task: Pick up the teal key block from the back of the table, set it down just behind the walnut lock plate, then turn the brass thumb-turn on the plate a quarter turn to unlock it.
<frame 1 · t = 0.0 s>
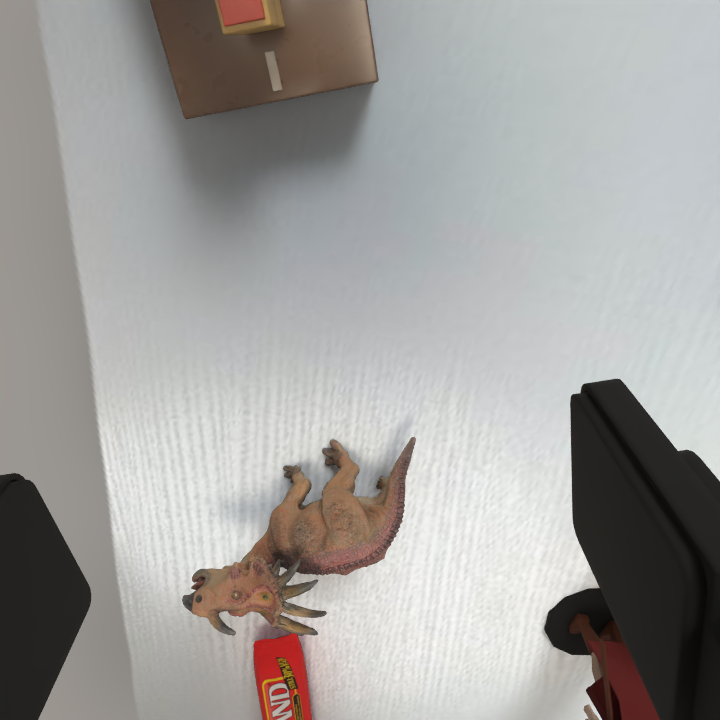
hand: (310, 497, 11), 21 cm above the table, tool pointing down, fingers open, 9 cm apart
candy bar: (288, 691, 47), on the table
figurine: (592, 616, 43), on the table
dinosaur figurine: (329, 485, 38), on the table
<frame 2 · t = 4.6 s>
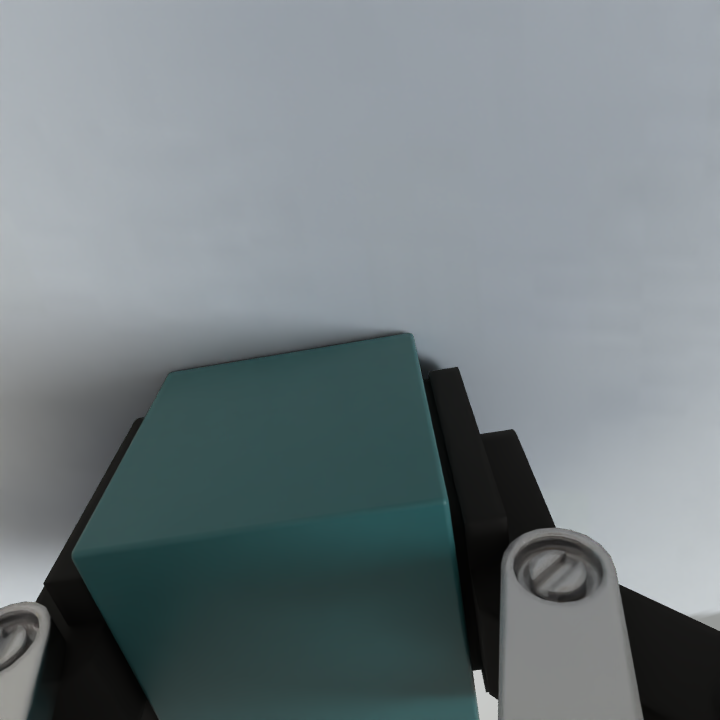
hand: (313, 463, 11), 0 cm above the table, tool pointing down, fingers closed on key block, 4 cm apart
key block: (314, 451, 12), on the table, touching gripper
when the fingers open (0 cm above the table, at t = 11.6 s): key block stays where it is, on the table.
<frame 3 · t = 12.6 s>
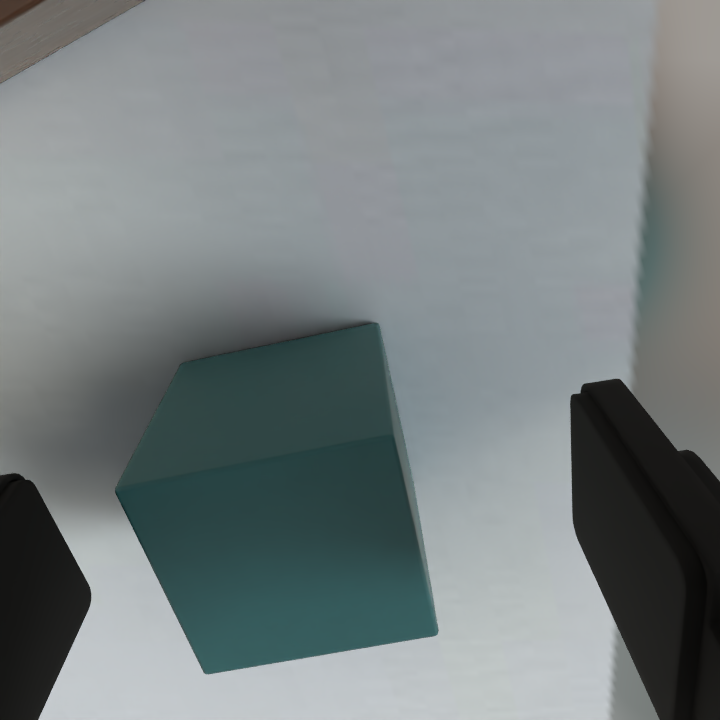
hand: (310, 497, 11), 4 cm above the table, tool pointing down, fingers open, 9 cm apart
key block: (303, 426, 14), on the table
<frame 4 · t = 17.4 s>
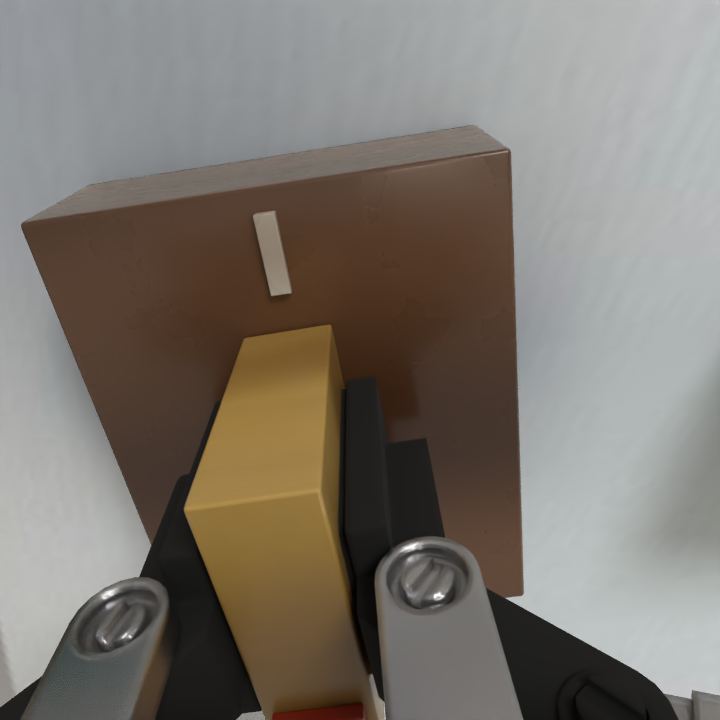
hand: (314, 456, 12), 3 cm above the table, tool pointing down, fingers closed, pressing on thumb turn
lock plate: (321, 369, 15), on the table
thumb turn: (307, 530, 10), point 5 cm above the table, hinge at 1.3°, touching gripper
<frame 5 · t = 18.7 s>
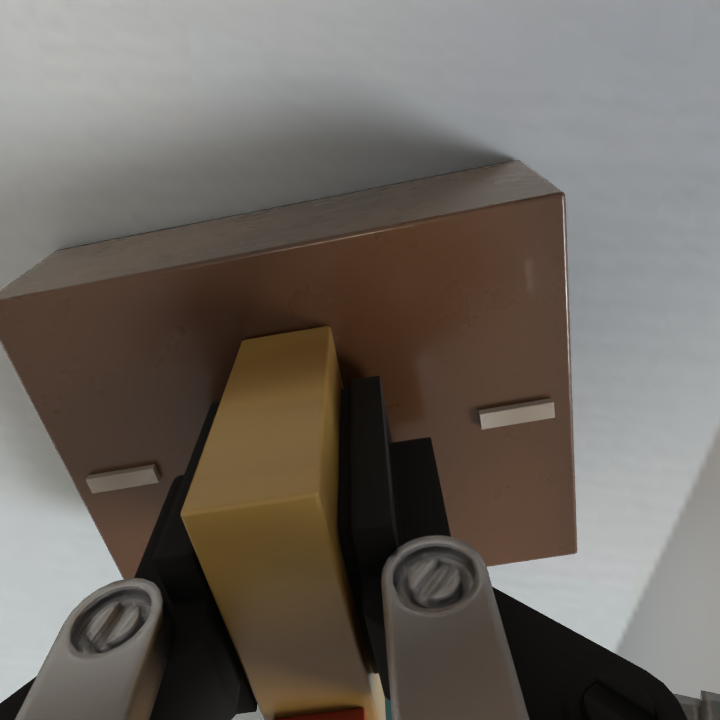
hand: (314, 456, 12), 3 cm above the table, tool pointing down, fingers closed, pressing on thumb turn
lock plate: (321, 370, 15), on the table
thumb turn: (307, 533, 10), point 5 cm above the table, hinge at 89.2°, touching gripper
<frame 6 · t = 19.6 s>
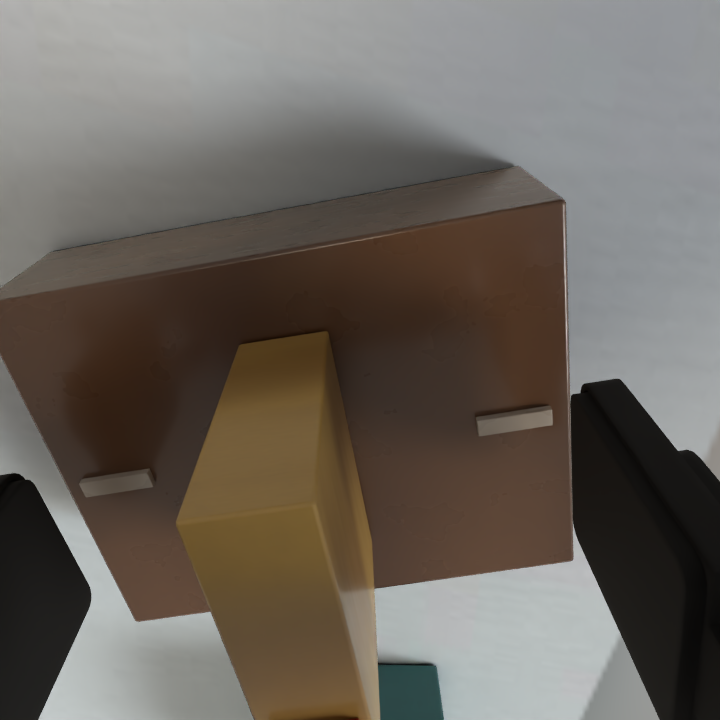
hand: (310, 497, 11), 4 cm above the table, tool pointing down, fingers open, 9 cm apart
lock plate: (318, 375, 15), on the table
key block: (364, 706, 20), on the table
thumb turn: (303, 540, 10), point 5 cm above the table, hinge at 89.3°
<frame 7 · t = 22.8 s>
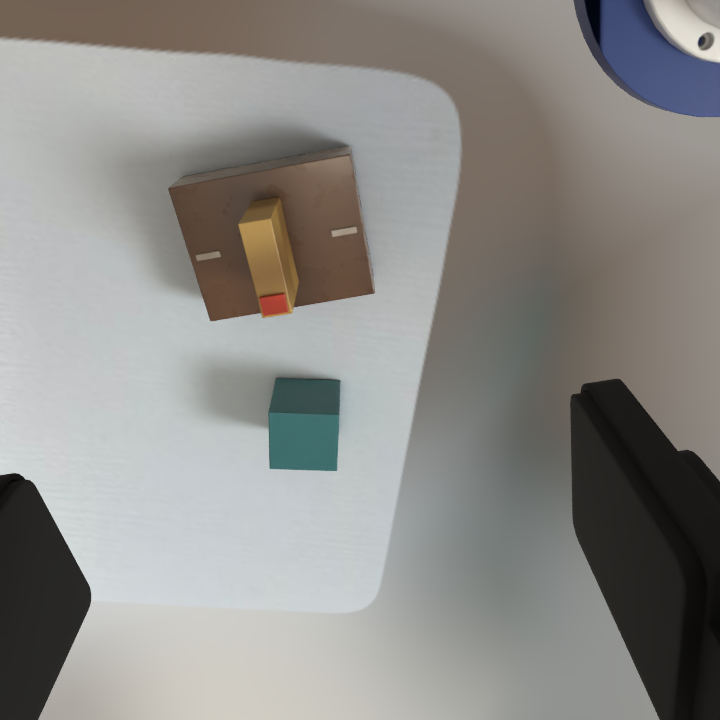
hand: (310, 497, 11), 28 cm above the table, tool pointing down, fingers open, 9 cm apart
lock plate: (281, 228, 37), on the table
key block: (307, 406, 43), on the table
thumb turn: (271, 256, 32), point 5 cm above the table, hinge at 89.3°
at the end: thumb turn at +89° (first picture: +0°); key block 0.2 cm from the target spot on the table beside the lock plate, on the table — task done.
